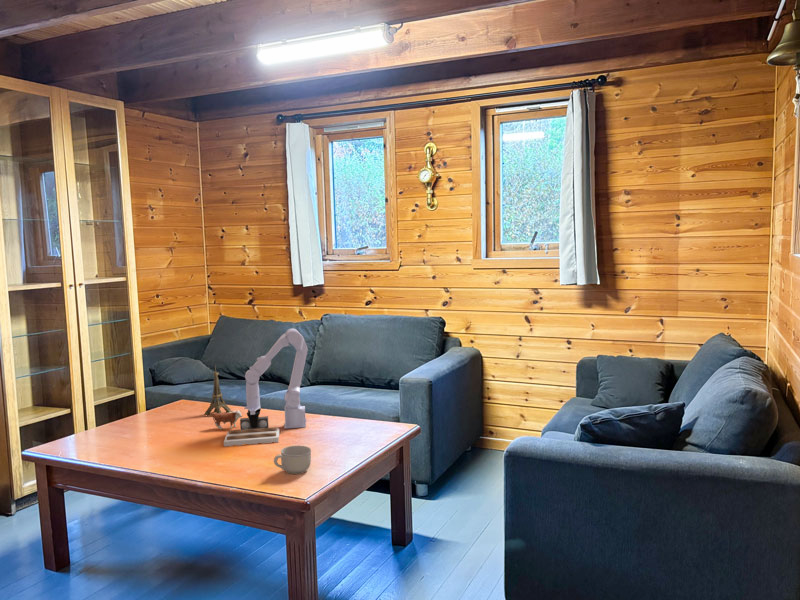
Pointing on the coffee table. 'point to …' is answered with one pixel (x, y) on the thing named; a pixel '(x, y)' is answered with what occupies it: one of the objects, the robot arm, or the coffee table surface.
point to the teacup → (294, 459)
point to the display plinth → (252, 436)
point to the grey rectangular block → (261, 423)
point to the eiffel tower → (217, 398)
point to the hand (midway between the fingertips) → (254, 426)
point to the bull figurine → (226, 418)
